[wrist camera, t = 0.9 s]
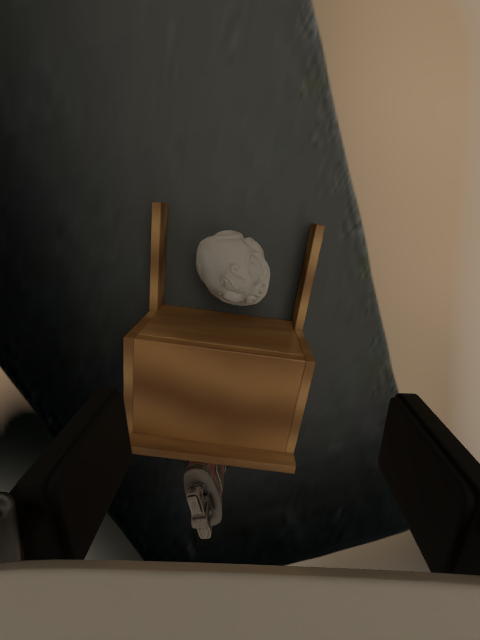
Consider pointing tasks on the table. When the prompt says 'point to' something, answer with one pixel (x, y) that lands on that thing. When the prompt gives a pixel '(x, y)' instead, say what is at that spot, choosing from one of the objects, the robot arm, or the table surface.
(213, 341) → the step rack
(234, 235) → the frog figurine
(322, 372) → the table surface
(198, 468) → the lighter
